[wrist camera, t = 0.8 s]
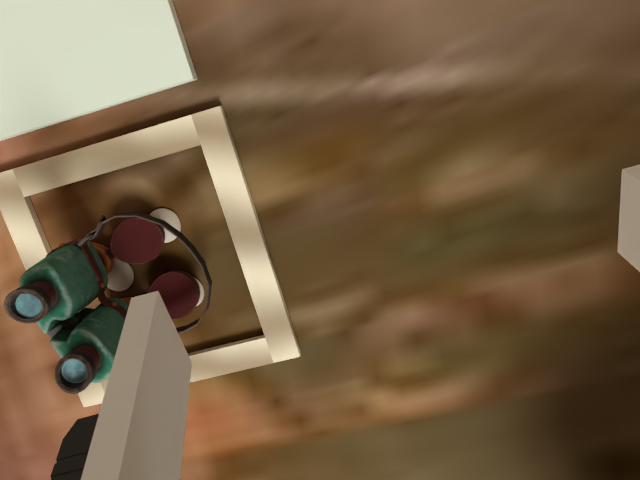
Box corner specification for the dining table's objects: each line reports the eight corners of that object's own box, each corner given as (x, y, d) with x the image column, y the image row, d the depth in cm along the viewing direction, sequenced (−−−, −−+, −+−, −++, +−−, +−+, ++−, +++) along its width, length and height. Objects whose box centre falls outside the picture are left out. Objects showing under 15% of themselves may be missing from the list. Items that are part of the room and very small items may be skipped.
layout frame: (301, 352, 41) (300, 356, 40) (87, 403, 43) (84, 407, 43) (222, 105, 37) (219, 105, 36) (-9, 175, 39) (-14, 176, 39)
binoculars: (213, 345, 30) (56, 429, 31) (237, 288, 41) (119, 352, 42) (121, 199, 29) (-42, 292, 30) (170, 178, 39) (49, 248, 40)
